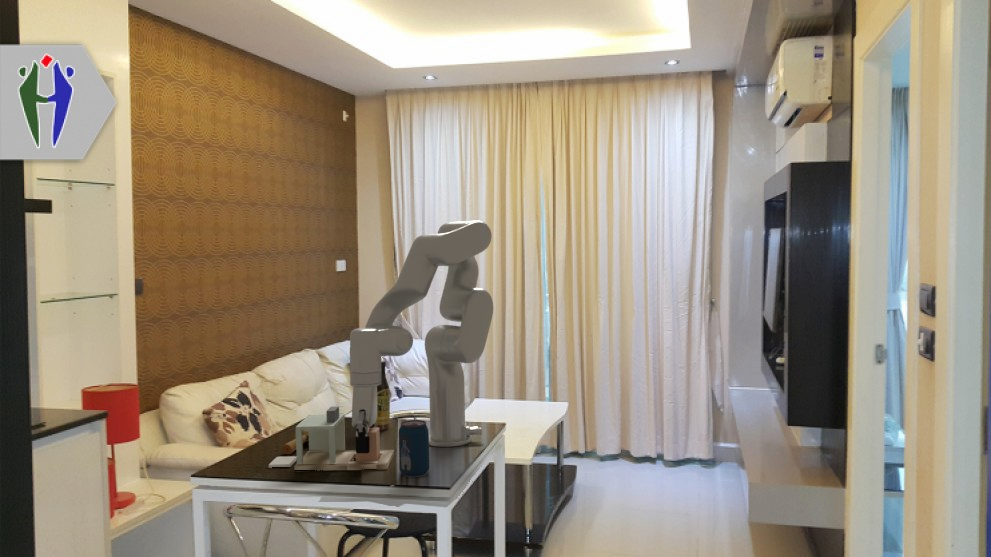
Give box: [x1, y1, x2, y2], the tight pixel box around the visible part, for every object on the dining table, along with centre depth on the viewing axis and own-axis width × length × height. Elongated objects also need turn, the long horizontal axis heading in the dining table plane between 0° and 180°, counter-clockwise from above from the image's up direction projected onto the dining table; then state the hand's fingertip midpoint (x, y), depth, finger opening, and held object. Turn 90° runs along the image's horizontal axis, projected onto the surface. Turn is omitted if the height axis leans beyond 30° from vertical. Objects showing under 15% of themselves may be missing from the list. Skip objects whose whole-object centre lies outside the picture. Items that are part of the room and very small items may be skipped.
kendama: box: [281, 429, 309, 455], centre depth 201 cm, size 8×6×18 cm
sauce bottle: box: [375, 360, 391, 431], centre depth 219 cm, size 7×6×20 cm
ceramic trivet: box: [268, 455, 297, 469], centre depth 185 cm, size 5×7×1 cm
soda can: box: [398, 419, 430, 478], centre depth 174 cm, size 7×7×12 cm
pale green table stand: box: [295, 406, 346, 464], centre depth 185 cm, size 9×13×12 cm
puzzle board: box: [293, 449, 395, 472], centre depth 185 cm, size 22×13×1 cm, turn 90°
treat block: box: [355, 428, 381, 461], centre depth 185 cm, size 5×5×8 cm
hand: (366, 448), depth 184 cm, fingers open, 9 cm apart
